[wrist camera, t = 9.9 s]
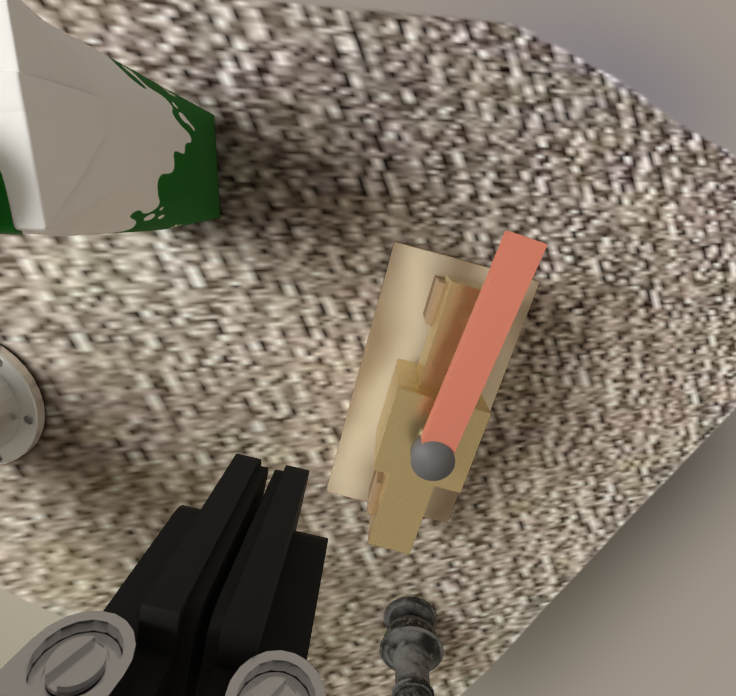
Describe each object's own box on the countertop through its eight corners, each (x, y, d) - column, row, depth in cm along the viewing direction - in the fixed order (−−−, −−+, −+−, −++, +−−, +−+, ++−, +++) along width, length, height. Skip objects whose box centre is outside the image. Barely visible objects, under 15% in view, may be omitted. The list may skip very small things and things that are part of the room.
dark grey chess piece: (375, 632, 45) (368, 777, 33) (388, 588, 43) (385, 725, 31) (431, 645, 45) (443, 793, 33) (446, 601, 43) (464, 742, 31)
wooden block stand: (355, 499, 37) (346, 561, 30) (425, 267, 31) (432, 280, 24) (424, 517, 37) (429, 583, 30) (506, 289, 31) (536, 309, 24)
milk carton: (123, 226, 34) (-224, 240, 15) (107, 96, 31) (-340, -88, 12) (233, 230, 34) (20, 250, 15) (226, 99, 31) (-46, -88, 12)
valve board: (329, 481, 40) (319, 517, 35) (394, 241, 33) (394, 245, 28) (445, 511, 40) (451, 552, 35) (533, 279, 33) (556, 289, 29)
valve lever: (443, 474, 27) (445, 486, 26) (404, 462, 27) (404, 472, 26) (545, 244, 23) (553, 246, 22) (499, 228, 23) (504, 229, 22)
